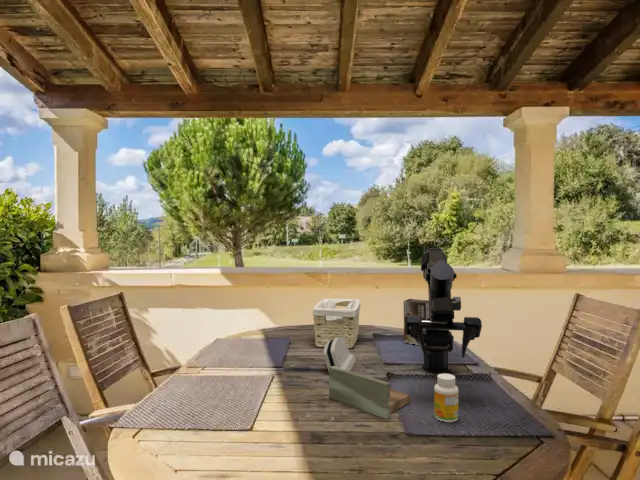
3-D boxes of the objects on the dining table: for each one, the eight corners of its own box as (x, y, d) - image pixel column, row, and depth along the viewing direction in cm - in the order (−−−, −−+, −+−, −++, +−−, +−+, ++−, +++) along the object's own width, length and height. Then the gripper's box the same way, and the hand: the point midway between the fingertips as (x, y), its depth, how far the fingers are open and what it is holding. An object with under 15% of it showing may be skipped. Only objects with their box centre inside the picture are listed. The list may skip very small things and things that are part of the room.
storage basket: (322, 332, 182) (322, 297, 182) (361, 333, 180) (361, 297, 179) (311, 348, 159) (311, 308, 158) (356, 350, 156) (356, 309, 156)
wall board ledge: (357, 385, 122) (357, 357, 122) (413, 403, 110) (413, 372, 109) (329, 397, 114) (328, 367, 114) (386, 418, 101) (386, 384, 101)
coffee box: (432, 343, 164) (432, 300, 164) (426, 347, 159) (426, 303, 158) (409, 339, 170) (409, 298, 169) (402, 343, 164) (402, 300, 164)
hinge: (346, 377, 129) (334, 344, 130) (331, 381, 130) (320, 349, 131) (356, 359, 145) (345, 331, 146) (342, 363, 146) (332, 335, 147)
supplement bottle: (430, 413, 104) (430, 372, 104) (452, 412, 105) (453, 371, 104) (438, 423, 99) (438, 380, 98) (462, 422, 99) (462, 379, 99)
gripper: (405, 284, 114) (404, 337, 104) (480, 285, 110) (488, 340, 100) (405, 308, 122) (405, 360, 112) (475, 310, 118) (482, 364, 108)
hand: (443, 356), depth 108 cm, fingers open, 9 cm apart
